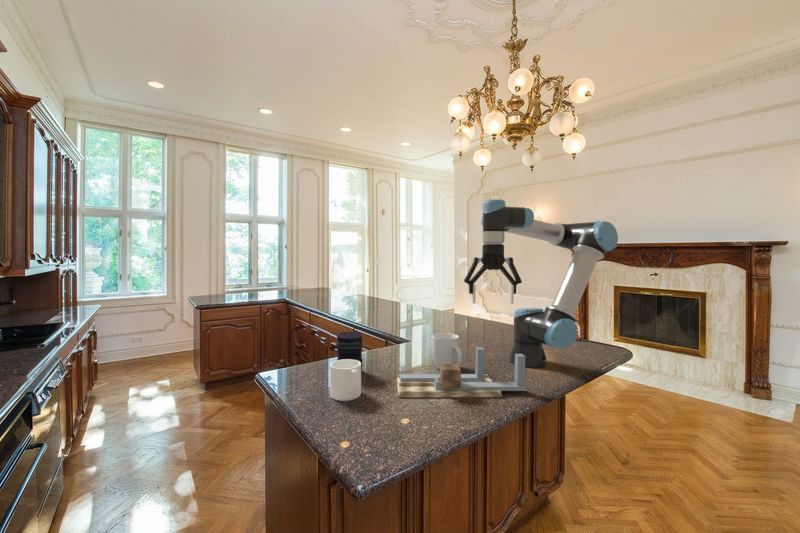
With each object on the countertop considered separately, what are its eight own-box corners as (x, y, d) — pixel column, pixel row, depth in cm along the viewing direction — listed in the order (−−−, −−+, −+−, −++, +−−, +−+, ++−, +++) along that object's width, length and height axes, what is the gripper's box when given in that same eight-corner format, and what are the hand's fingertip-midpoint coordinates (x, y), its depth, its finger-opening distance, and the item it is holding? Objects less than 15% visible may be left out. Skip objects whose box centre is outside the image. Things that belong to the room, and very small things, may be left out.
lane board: (488, 378, 131) (488, 374, 131) (502, 396, 115) (502, 391, 115) (397, 379, 130) (397, 374, 130) (397, 397, 114) (397, 391, 114)
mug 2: (471, 372, 138) (471, 339, 137) (449, 377, 132) (450, 343, 131) (446, 361, 150) (446, 331, 150) (425, 366, 144) (425, 334, 144)
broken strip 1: (441, 377, 128) (441, 374, 128) (442, 381, 124) (442, 378, 124) (400, 377, 128) (400, 374, 128) (400, 382, 124) (400, 378, 124)
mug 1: (325, 393, 117) (325, 362, 117) (352, 386, 123) (351, 357, 122) (342, 407, 107) (342, 373, 106) (370, 398, 113) (370, 367, 112)
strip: (521, 386, 121) (522, 353, 120) (525, 390, 117) (526, 356, 116) (434, 386, 120) (434, 353, 120) (435, 391, 116) (436, 357, 116)
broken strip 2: (482, 377, 129) (482, 346, 128) (485, 381, 125) (485, 350, 124) (452, 377, 128) (452, 346, 128) (454, 381, 124) (454, 350, 124)
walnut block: (457, 381, 121) (457, 364, 121) (460, 388, 115) (460, 370, 115) (439, 381, 121) (439, 364, 121) (442, 388, 115) (442, 370, 115)
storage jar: (367, 373, 136) (367, 334, 136) (347, 379, 129) (347, 339, 128) (351, 367, 143) (351, 330, 142) (331, 373, 136) (331, 334, 135)
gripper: (524, 244, 130) (522, 301, 131) (456, 243, 129) (455, 301, 130) (532, 243, 122) (530, 304, 123) (460, 243, 122) (459, 304, 123)
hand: (492, 303), depth 127 cm, fingers open, 13 cm apart
